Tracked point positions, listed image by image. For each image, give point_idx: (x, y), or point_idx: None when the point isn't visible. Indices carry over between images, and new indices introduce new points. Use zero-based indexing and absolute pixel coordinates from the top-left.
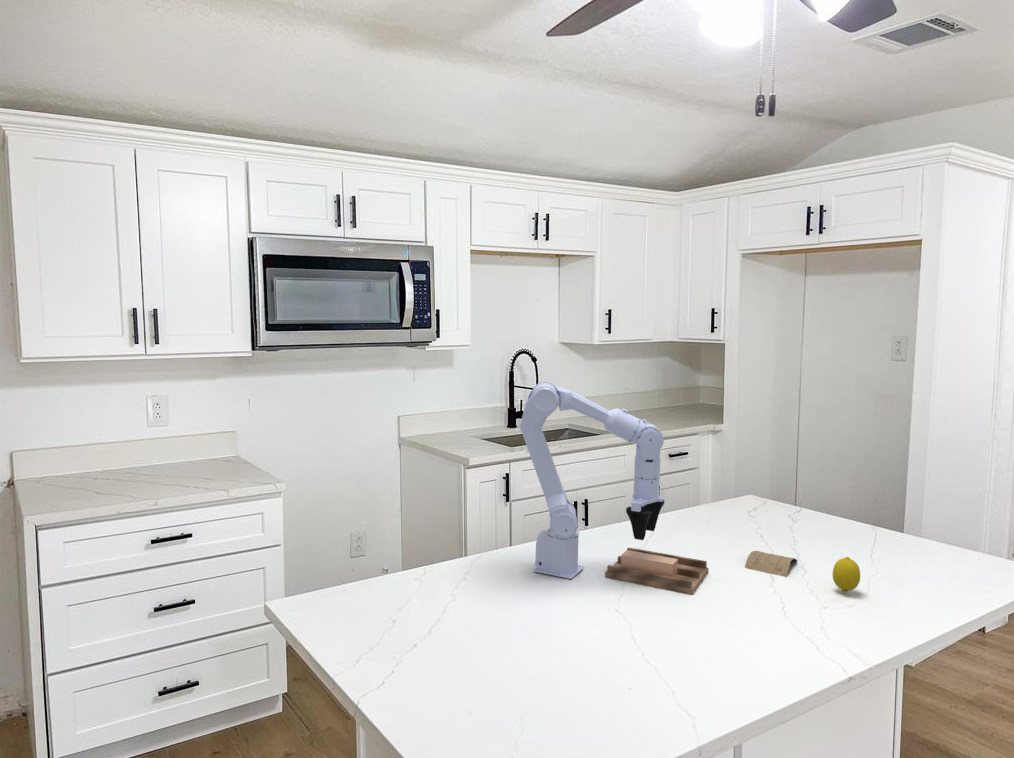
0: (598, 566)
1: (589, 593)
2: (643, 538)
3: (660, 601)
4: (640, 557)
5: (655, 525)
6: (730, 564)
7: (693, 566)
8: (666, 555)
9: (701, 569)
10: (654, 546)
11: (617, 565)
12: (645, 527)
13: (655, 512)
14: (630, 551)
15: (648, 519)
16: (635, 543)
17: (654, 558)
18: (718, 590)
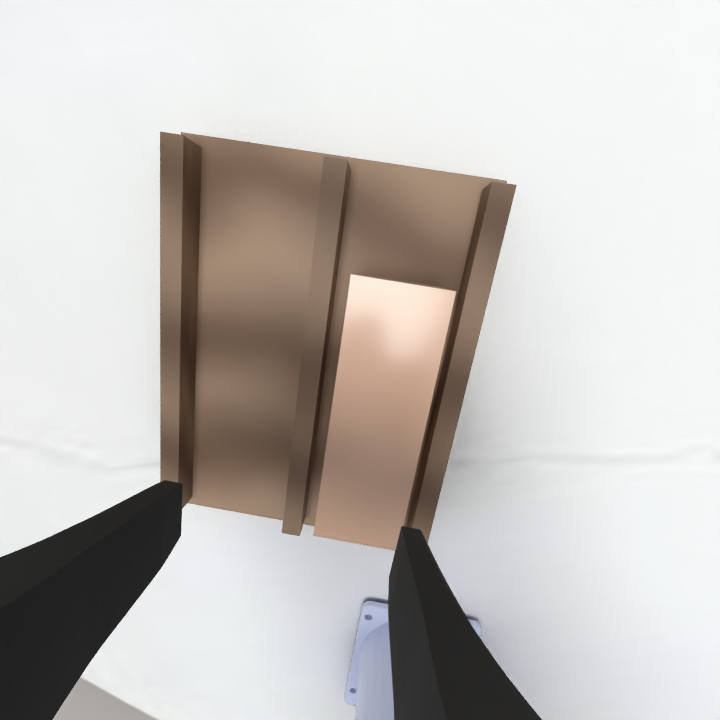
0: (318, 560)
1: (585, 554)
2: (423, 537)
3: (607, 314)
4: (402, 467)
5: (141, 499)
6: (24, 36)
7: (200, 211)
8: (179, 347)
9: (221, 167)
10: (4, 406)
11: None
12: (460, 617)
13: (36, 614)
14: (331, 519)
15: (449, 693)
16: (16, 476)
17: (390, 400)
18: (403, 65)
